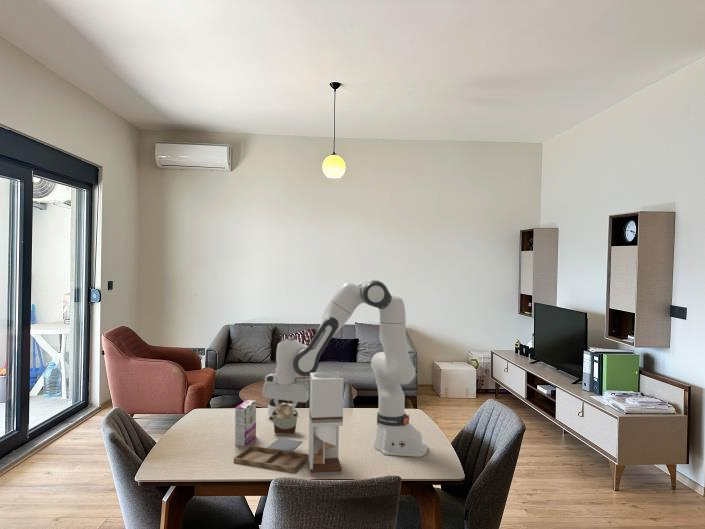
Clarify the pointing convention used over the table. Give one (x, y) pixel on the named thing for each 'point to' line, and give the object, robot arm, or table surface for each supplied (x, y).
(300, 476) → the table surface
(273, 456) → the walnut organizer
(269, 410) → the spread jar
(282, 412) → the maple block
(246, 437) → the candy bar box
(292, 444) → the gray mat
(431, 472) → the table surface
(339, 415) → the display case
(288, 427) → the food container
